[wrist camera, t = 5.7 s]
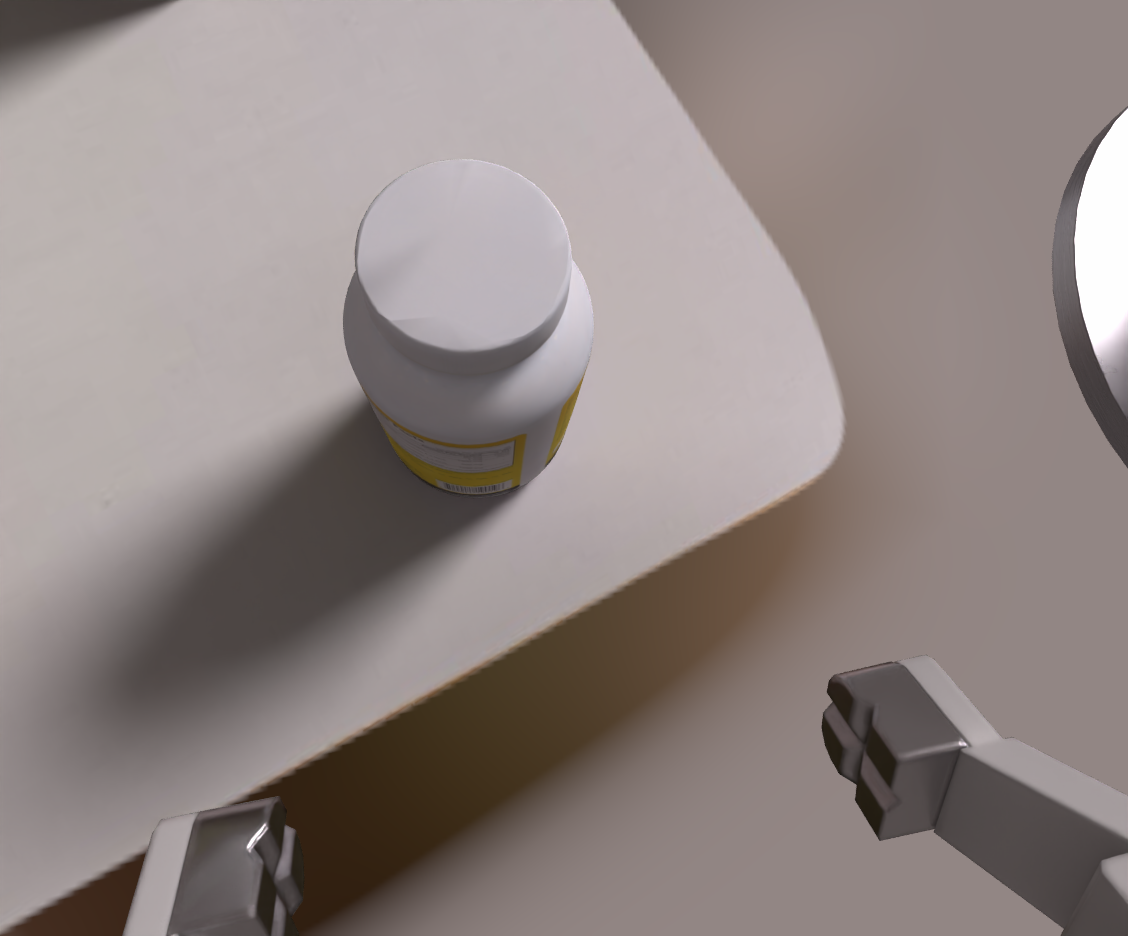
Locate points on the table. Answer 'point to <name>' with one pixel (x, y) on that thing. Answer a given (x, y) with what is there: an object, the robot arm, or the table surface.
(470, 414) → the pill bottle
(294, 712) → the table surface
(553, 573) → the table surface
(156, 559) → the table surface
